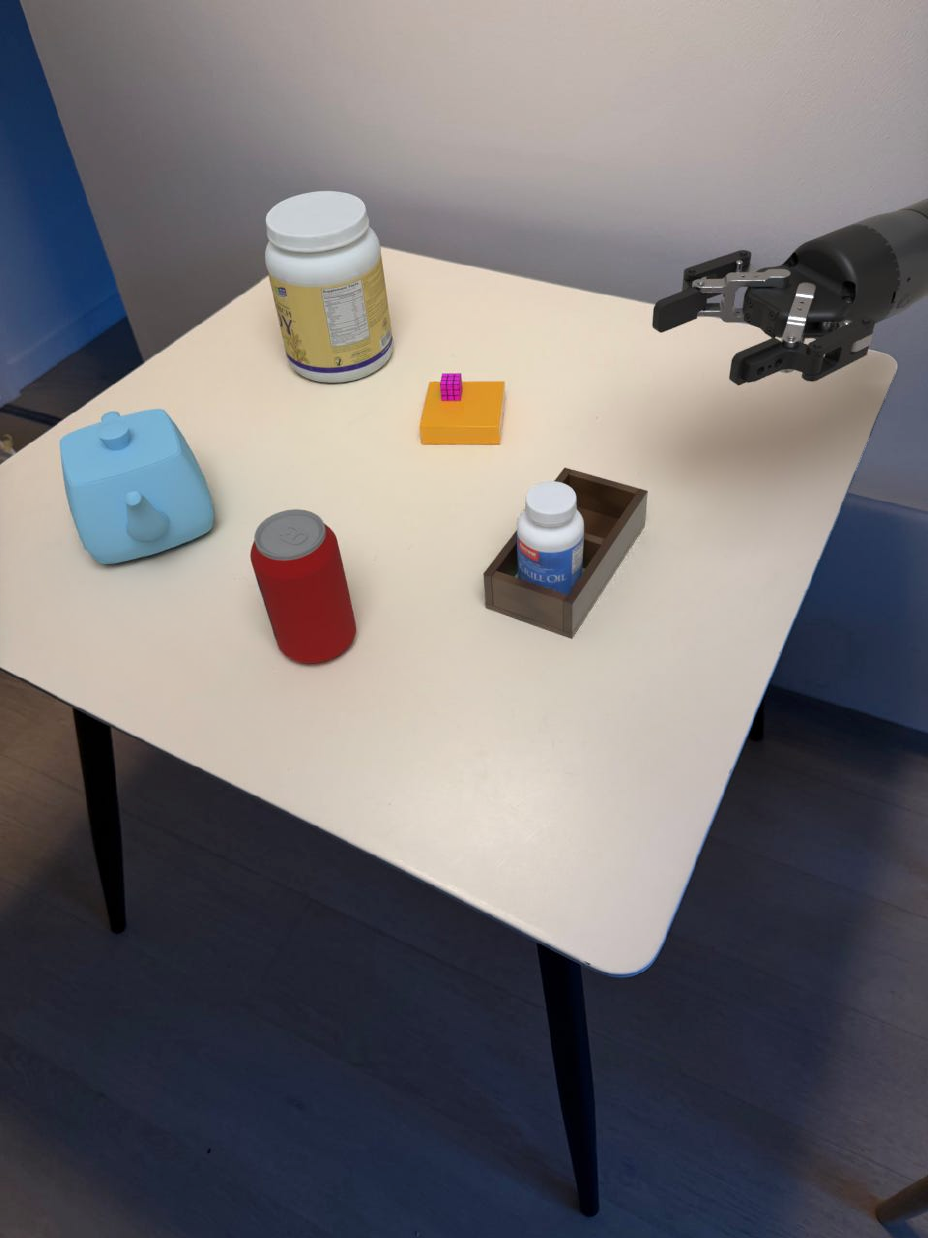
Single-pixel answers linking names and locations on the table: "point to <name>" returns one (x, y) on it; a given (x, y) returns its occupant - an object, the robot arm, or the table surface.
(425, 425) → the flat orange square base
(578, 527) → the pill bottle
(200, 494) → the teapot
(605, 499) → the wooden compartment box
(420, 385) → the table surface
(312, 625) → the beverage can
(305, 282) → the supplement tub
